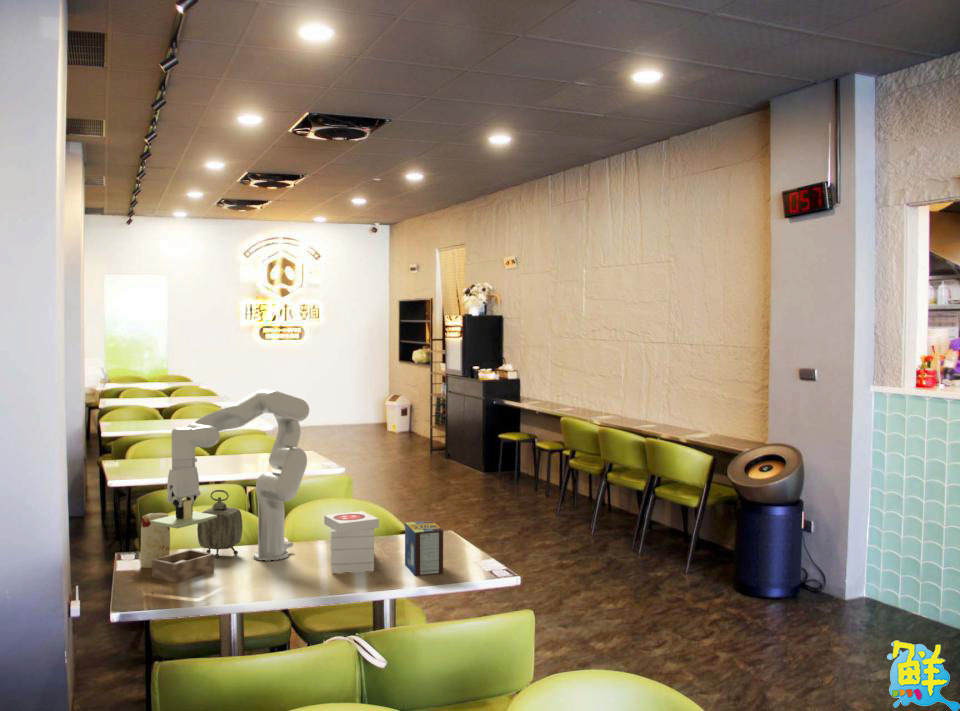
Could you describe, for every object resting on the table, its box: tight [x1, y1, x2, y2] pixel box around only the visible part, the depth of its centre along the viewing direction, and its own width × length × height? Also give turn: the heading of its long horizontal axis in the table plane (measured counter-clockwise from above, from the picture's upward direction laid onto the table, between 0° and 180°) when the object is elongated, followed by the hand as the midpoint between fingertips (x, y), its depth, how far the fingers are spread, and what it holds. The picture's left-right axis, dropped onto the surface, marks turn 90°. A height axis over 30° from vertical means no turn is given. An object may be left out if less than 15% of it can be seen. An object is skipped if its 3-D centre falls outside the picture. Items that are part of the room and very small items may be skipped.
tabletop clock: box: [196, 489, 243, 559], centre depth 308 cm, size 14×9×25 cm, turn 84°
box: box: [151, 549, 215, 584], centre depth 282 cm, size 16×12×7 cm
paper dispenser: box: [323, 510, 380, 574], centre depth 301 cm, size 19×30×18 cm, turn 11°
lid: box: [151, 498, 217, 529], centre depth 282 cm, size 17×13×8 cm
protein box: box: [404, 520, 444, 577], centre depth 294 cm, size 10×15×16 cm
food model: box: [140, 512, 171, 569], centre depth 292 cm, size 10×7×20 cm
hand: (184, 516), depth 282 cm, fingers closed on lid, 3 cm apart
